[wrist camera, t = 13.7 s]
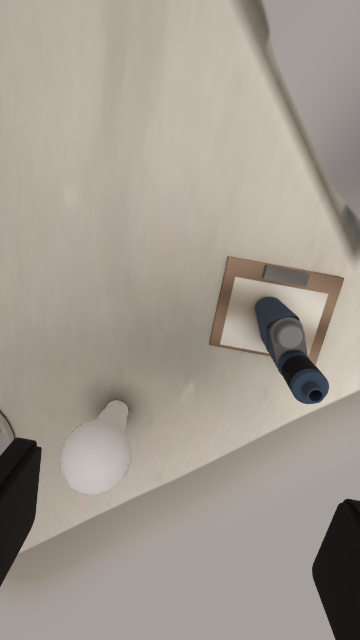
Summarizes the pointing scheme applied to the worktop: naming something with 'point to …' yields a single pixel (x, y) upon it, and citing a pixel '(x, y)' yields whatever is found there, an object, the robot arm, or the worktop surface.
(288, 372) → the vaping device
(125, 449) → the lightbulb
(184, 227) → the worktop surface
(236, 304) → the clipboard
